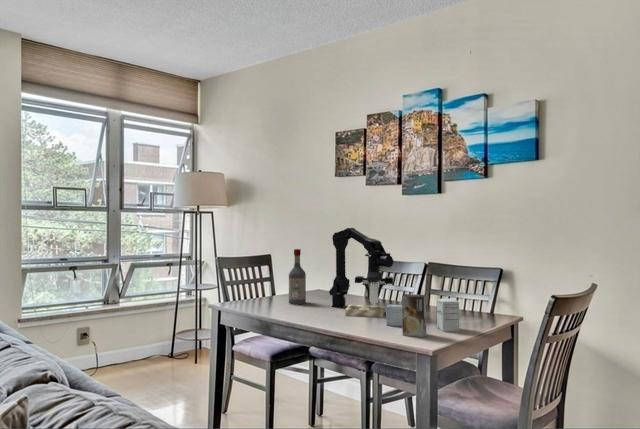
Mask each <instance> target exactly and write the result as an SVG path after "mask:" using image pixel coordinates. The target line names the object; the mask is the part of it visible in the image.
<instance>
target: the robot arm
mask: <svg viewBox="0 0 640 429" xmlns="http://www.w3.org/2000/svg"><path fill="white" fill-rule="evenodd" d="M331 239H332V245H333V247H334V248H335V277H334V279H333V281H332V282H333V283H332V286H331V287H330V289H329V290H328V292H329V295H330V296H331V297H332V298H331V300H332V301H331V303H332V304H331V308H332V307H333V308H344V307H345V306H346V304H347V303H346V302H347V301H346V300H347V299H346V297H345V296H346V295H348V292H349V289H350V287H351V286H350V279H349V278H347V276H346V275H347V274H346V248H347V246H348V245H349V240H350V239H353V240H355V241H356V242H358V243H359V244H361V245H362V246H363V247H364V248H363V249H364V250H365V251H367V253H366V254H364V256H365V257H368V259H367V262H368V264H367V265H368V266H367V270H368V271H367V277H365V276H363V275H356V276H355V278H354V283H355V284H361V283H362V285H363V286H364V287H365V289H366V291H367V295H368V298H370V283H371V284H372V283H375V284H377V283H379V284H378V299H379V298H380V296H381V291H382V290H383V287H384V286H386V285H393V284H394V277H392V276H385V277H384V278H383V272H381V268H391V267H393V265H394V258H393V257H392V256H391V252H387V251H386V250H385V248H384V247H383V245H382V242H381V241H380V240H379V239H375V238H371V237H369V236H367V235H365V234H363V233H362V232H360V231H358V230H357V229H356V228H354V227H347V228H345V229H343V230H340V231H337V232H334V233H333V234H332V238H331Z"/></svg>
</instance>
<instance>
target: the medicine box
mask: <svg viewBox="0 0 640 429" xmlns="http://www.w3.org/2000/svg"><path fill="white" fill-rule="evenodd" d="M385 313H386V317H385V319H386V322H385V323H386V326H387V327H388V326H389V327H390V326H391V327H402V304H400V305H399V304H388V305H387V306H386V310H385Z"/></svg>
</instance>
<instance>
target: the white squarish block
mask: <svg viewBox="0 0 640 429" xmlns="http://www.w3.org/2000/svg"><path fill="white" fill-rule="evenodd" d="M369 287H370V297H369V303H378V302H379V298H378V291H379V284H369Z"/></svg>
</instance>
